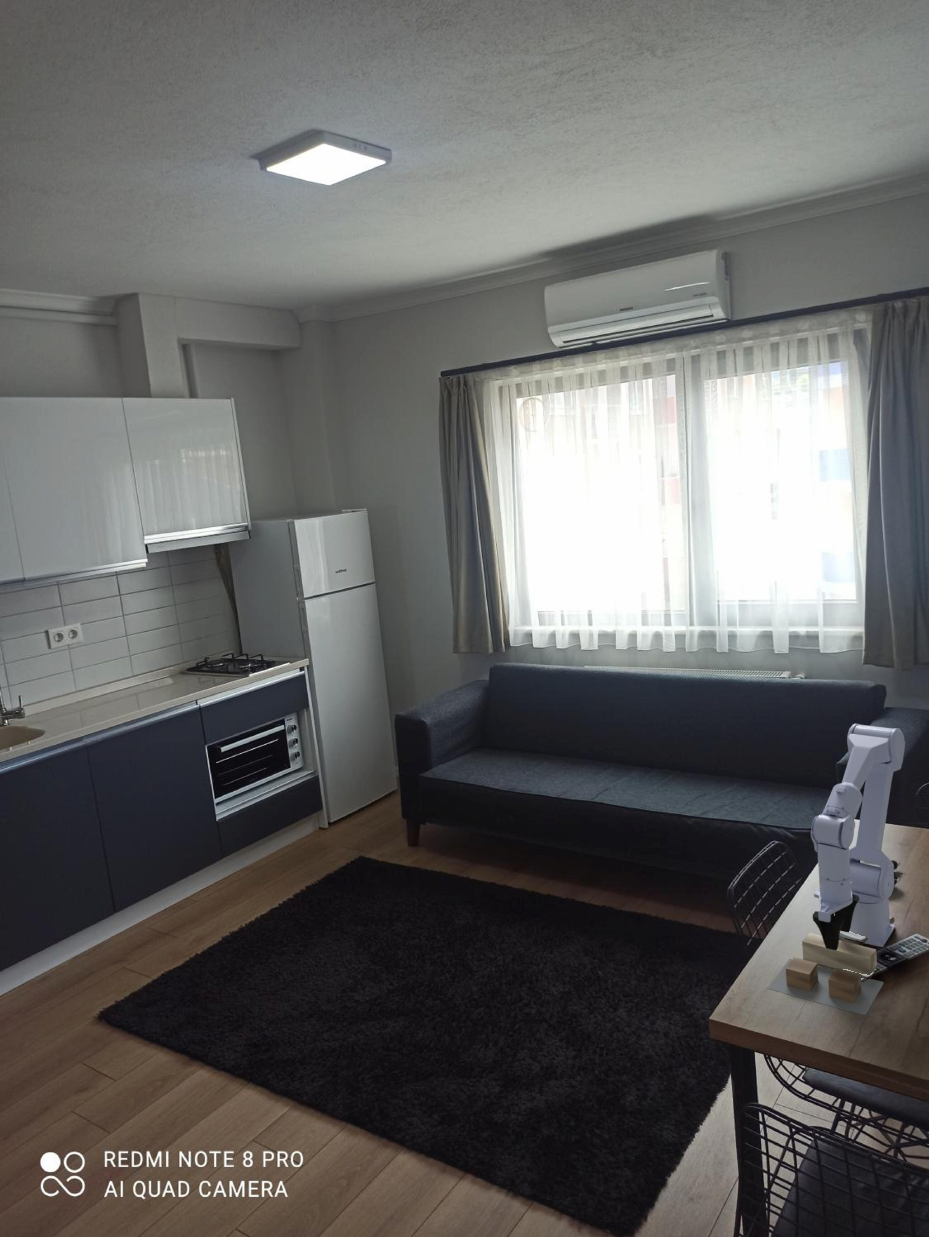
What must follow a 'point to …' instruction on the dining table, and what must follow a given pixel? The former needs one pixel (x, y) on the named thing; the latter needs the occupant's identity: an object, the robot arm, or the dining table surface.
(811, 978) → the block
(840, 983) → the block
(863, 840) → the robot arm
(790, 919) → the dining table surface
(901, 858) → the dining table surface
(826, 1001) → the mat
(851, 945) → the plank
